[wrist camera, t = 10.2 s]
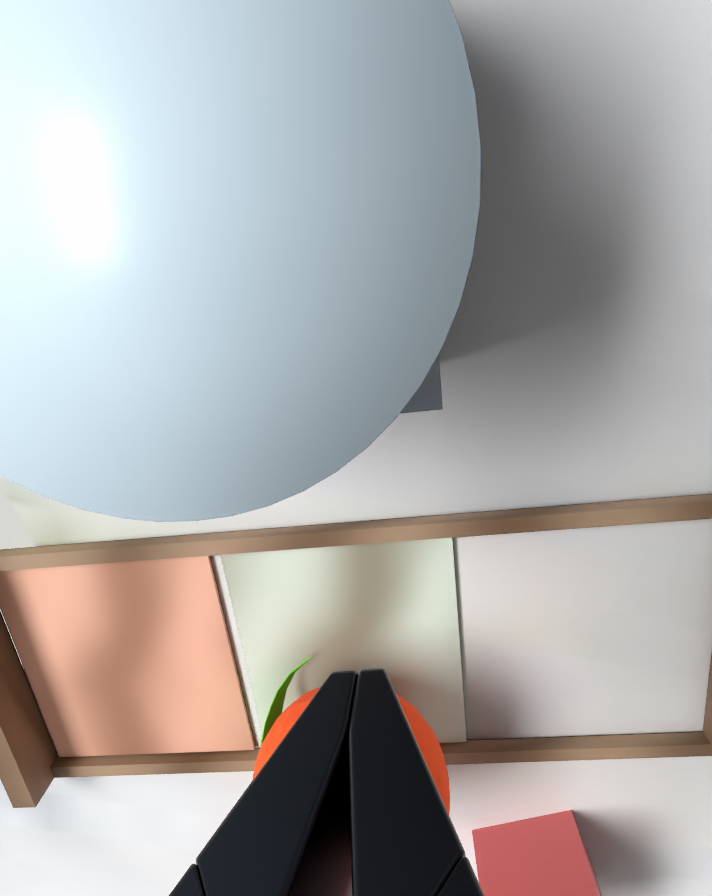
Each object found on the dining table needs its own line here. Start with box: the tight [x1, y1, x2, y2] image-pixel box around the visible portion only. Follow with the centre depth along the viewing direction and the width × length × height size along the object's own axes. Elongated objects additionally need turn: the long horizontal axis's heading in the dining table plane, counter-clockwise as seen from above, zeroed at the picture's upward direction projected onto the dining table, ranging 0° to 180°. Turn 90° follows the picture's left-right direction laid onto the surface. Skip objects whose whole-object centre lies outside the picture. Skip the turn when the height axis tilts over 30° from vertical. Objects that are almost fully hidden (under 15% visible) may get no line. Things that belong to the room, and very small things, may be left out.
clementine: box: [253, 656, 450, 815], centre depth 20 cm, size 8×7×7 cm
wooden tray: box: [0, 494, 712, 808], centre depth 21 cm, size 29×11×2 cm, turn 97°
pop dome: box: [0, 0, 481, 522], centre depth 11 cm, size 11×11×5 cm
